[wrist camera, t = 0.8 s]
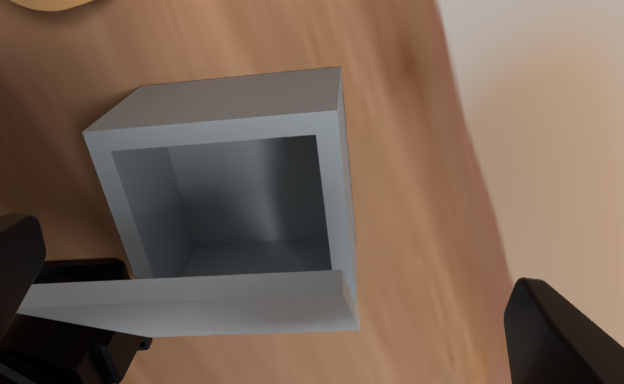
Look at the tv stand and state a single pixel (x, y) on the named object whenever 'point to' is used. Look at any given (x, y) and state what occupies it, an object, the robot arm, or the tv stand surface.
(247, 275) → the box lid
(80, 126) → the tv stand surface
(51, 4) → the tan cylinder grey end
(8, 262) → the robot arm
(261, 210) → the box
